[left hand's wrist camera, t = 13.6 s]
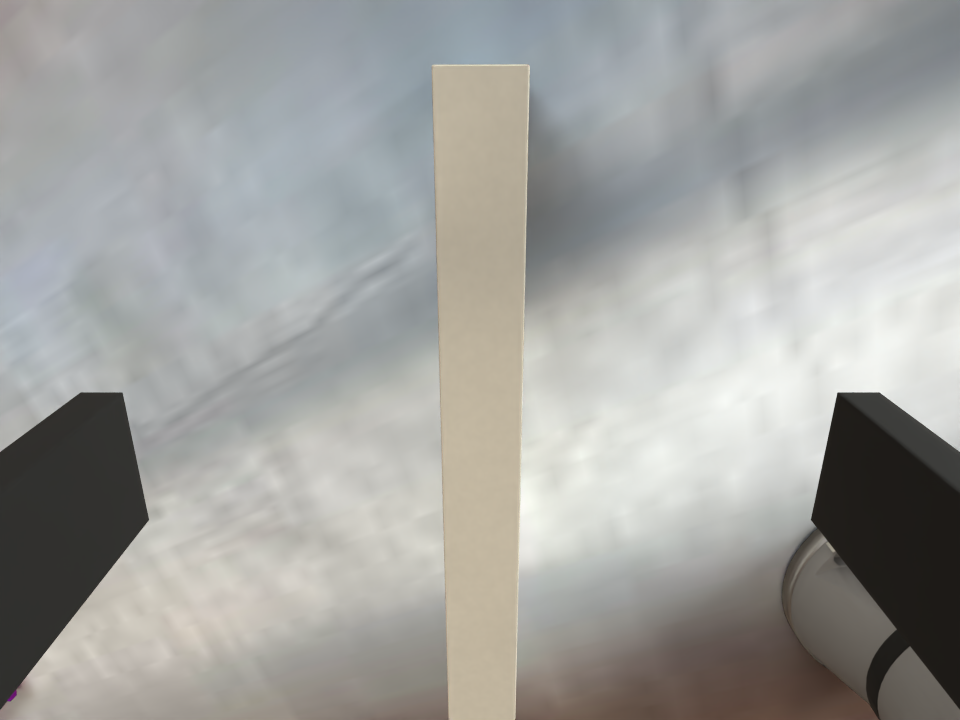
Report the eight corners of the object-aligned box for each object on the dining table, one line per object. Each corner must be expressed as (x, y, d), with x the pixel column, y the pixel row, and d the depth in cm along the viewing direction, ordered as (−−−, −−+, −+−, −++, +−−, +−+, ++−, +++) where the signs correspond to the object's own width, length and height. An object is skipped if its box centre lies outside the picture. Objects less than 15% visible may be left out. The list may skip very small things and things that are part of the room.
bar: (441, 71, 38) (431, 64, 30) (519, 71, 38) (529, 64, 30) (456, 760, 58) (452, 864, 50) (507, 760, 58) (512, 864, 50)
